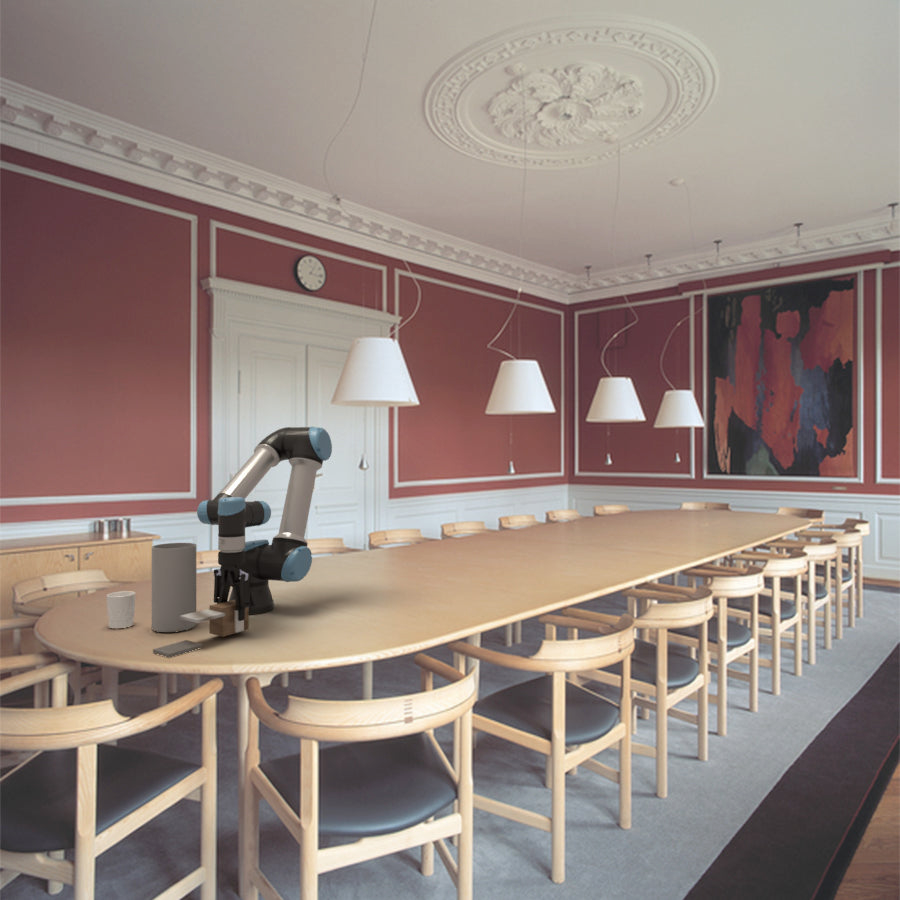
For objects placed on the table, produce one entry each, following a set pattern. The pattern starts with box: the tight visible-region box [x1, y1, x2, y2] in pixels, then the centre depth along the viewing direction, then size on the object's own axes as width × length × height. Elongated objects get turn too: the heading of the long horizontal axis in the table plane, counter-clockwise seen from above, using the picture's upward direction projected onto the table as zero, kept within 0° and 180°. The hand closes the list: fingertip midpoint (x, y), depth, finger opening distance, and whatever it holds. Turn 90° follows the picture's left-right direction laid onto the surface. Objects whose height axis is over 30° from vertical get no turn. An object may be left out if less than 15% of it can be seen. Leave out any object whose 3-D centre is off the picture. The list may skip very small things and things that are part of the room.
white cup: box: [106, 590, 136, 629], centre depth 200 cm, size 8×8×10 cm
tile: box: [152, 639, 203, 658], centre depth 176 cm, size 7×2×10 cm
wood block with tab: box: [179, 600, 250, 638], centre depth 186 cm, size 18×8×8 cm, turn 146°
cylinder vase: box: [151, 542, 197, 633], centre depth 198 cm, size 12×12×25 cm
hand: (231, 629), depth 191 cm, fingers closed on wood block with tab, 6 cm apart
